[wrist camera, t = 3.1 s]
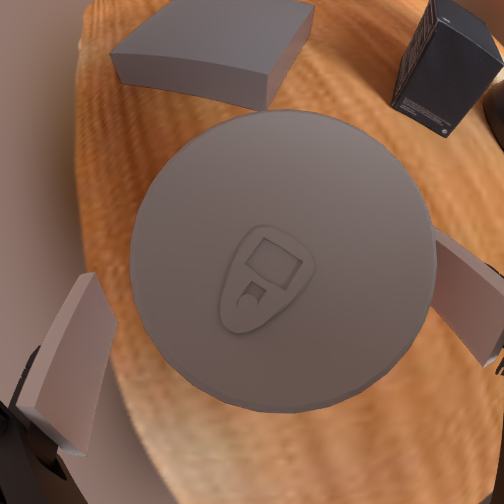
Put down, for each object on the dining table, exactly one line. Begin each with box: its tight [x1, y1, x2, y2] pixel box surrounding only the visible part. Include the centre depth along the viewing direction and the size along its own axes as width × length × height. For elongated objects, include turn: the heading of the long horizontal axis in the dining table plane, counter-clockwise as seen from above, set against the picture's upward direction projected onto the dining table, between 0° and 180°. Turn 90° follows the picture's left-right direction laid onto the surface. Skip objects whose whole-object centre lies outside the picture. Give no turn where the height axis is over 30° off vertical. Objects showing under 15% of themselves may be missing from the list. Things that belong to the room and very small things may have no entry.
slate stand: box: [109, 0, 315, 111], centre depth 22 cm, size 14×14×4 cm
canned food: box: [129, 109, 437, 413], centre depth 12 cm, size 8×8×11 cm
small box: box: [391, 0, 504, 138], centre depth 18 cm, size 11×6×10 cm, turn 154°
